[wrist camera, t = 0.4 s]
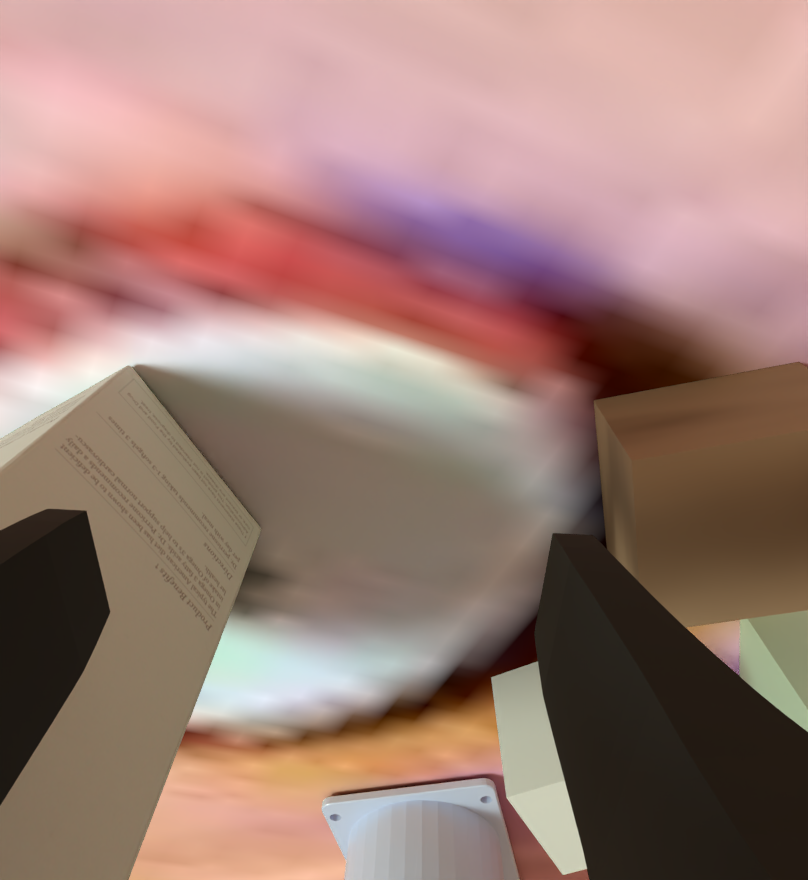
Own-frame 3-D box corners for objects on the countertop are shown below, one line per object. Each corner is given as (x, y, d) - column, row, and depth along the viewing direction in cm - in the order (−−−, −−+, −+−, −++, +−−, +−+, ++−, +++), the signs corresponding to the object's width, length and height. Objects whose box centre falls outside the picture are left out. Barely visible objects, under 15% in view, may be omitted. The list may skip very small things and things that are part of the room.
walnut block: (783, 521, 21) (858, 603, 17) (605, 549, 21) (642, 633, 18) (795, 359, 18) (885, 416, 15) (592, 398, 19) (631, 460, 15)
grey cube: (651, 714, 25) (700, 839, 21) (539, 749, 26) (563, 875, 22) (610, 634, 23) (654, 754, 19) (491, 675, 24) (506, 797, 20)
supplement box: (-37, 455, 20) (-612, 865, 9) (135, 357, 18) (-311, 714, 7) (109, 606, 23) (-186, 1058, 12) (270, 533, 21) (103, 982, 10)
